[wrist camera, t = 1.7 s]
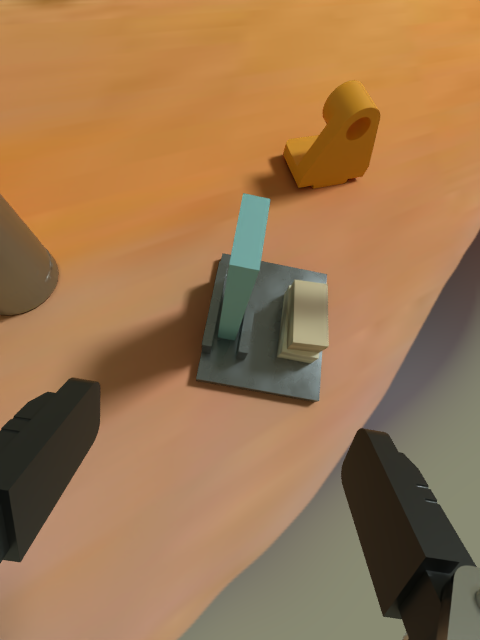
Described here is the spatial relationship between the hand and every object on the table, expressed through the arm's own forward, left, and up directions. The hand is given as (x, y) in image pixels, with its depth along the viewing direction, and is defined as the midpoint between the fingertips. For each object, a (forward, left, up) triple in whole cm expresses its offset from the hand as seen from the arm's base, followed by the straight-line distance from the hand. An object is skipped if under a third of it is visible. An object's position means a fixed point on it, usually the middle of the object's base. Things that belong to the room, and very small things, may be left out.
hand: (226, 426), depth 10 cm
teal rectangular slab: (+4, +12, -23) cm, 27 cm away
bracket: (+23, +35, -25) cm, 48 cm away
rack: (+9, +11, -25) cm, 28 cm away
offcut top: (+12, +10, -21) cm, 26 cm away
